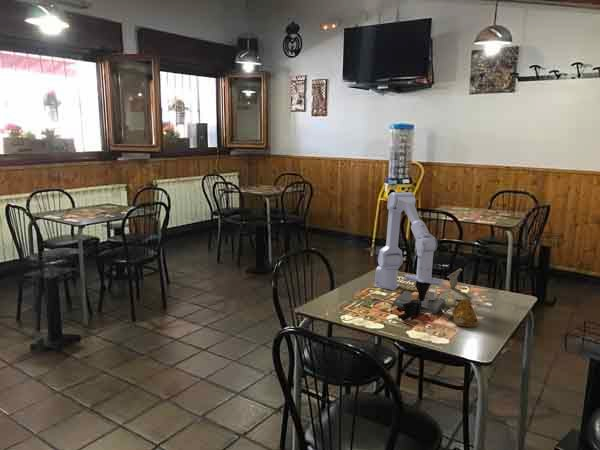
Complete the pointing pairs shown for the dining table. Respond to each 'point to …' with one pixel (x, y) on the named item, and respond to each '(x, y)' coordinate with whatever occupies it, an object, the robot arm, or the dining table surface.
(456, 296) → the jawbone
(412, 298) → the fader orange
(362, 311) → the dining table surface
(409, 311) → the toy
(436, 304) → the panel
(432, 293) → the block
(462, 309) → the rock
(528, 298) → the dining table surface
